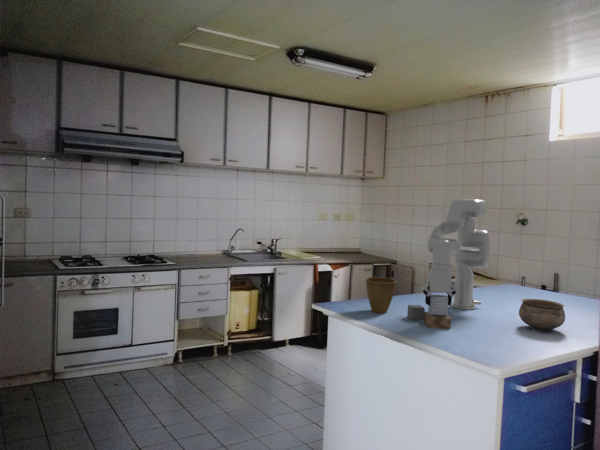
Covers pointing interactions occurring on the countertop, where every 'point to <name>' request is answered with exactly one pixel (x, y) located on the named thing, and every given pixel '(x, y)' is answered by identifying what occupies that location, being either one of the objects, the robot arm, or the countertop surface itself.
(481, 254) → the robot arm
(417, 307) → the charcoal cube
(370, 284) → the plant pot
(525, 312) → the cooking pot
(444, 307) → the medicine box
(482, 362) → the countertop surface
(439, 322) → the walnut block
